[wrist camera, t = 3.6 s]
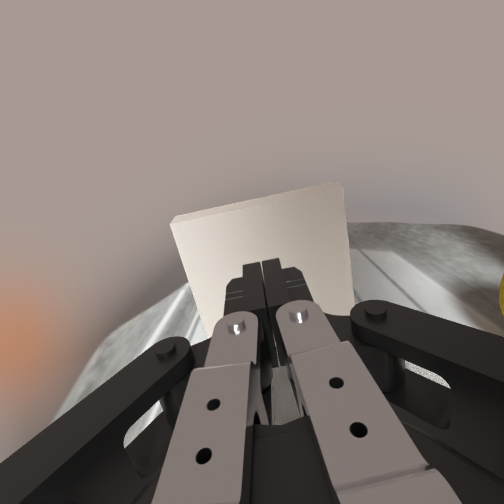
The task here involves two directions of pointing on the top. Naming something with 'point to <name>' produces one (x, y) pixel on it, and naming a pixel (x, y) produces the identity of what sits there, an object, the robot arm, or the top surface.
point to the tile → (269, 246)
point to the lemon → (502, 295)
